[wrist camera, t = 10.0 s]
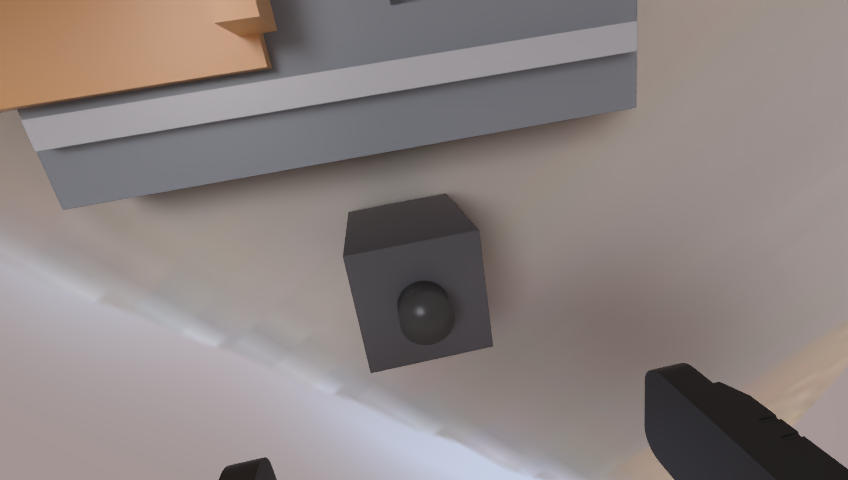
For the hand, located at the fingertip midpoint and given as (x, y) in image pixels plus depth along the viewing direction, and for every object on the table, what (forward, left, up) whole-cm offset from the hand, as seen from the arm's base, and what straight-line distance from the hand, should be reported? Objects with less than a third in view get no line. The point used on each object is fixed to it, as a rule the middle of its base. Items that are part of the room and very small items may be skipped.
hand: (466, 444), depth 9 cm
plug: (0, 0, -14) cm, 14 cm away
